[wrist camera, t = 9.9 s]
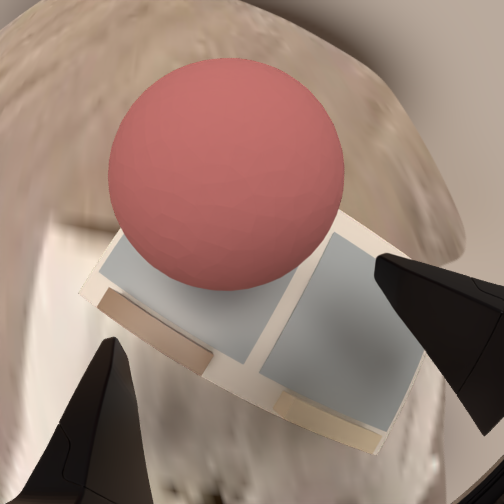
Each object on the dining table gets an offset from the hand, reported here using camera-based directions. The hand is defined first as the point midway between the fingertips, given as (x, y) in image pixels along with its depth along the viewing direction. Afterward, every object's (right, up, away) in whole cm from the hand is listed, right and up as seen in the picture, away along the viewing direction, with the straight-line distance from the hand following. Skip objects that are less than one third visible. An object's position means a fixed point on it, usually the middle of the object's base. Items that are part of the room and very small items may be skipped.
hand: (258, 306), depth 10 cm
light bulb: (-2, +2, +8) cm, 9 cm away
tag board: (+2, -1, +9) cm, 9 cm away
